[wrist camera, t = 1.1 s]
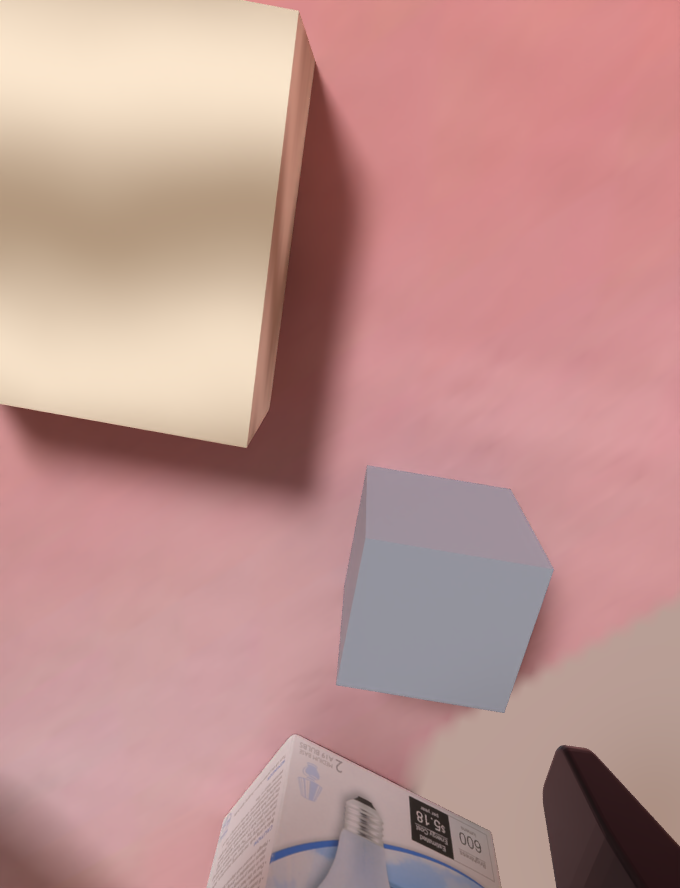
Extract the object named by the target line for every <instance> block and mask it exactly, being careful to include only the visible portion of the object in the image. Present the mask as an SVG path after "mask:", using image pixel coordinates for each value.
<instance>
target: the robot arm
mask: <svg viewBox="0 0 680 888" xmlns="http://www.w3.org/2000/svg"><path fill="white" fill-rule="evenodd" d="M543 806H544V812H545V818H546V825H547V830H548V837H549V843H550V850H551V856H552V862H553V869H554V875H555V881H556V887H557V888H680V846H679V845H678V844H677V843H676V842H675V841H674V840H673V839H672V838H671V836H670V835H669V834H668V833H667V832H666V831H665V830H664V829H663V828H662V827H661V825H659V823H658V822H657V821H656V820H655V819H654V818H653V817H652V816H651V815H650V814H649V813H648V811H647V810H646V809H645V808H644V807H643V806H642V805H641V804H640V803H639V802H638V800H637V799H636V798H635V797H634V796H633V795H632V794H631V793H630V792H629V791H628V790H627V789H626V788H625V786H624V785H623V784H622V783H621V782H620V781H619V780H618V779H617V778H616V777H615V776H614V775H613V773H612V772H611V771H610V770H609V769H608V768H607V767H606V766H605V765H604V763H603V762H602V761H601V760H600V759H599V758H598V757H597V756H596V755H595V754H594V753H593V752H592V751H590V750H589V749H586V748H581V747H573V746H566V745H563V746H560V747H559V748H558V749H557V750H556V752H555V755H554V758H553V761H552V764H551V766H550V770H549V772H548V775H547V778H546V780H545V784H544V788H543Z"/></svg>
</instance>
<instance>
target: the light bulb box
mask: <svg viewBox="0 0 680 888" xmlns="http://www.w3.org/2000/svg"><path fill="white" fill-rule="evenodd" d="M207 888H502V887H501V882H500V877H499V871H498V866H497V860H496V855H495V849H494V844H493V838H492V834H491V832H490V831H489V830H487V829H485V828H483V827H481V826H479V825H476V824H475V823H473V822H471V821H469V820H467V819H465V818H463V817H461V816H459V815H457V814H454V813H453V812H451V811H449V810H447V809H445V808H443V807H441V806H439V805H437V804H435V803H433V802H431V801H429V800H427V799H425V798H423V797H421V796H419V795H417V794H415V793H413V792H411V791H409V790H407V789H405V788H403V787H401V786H399V785H397V784H395V783H393V782H391V781H389V780H387V779H385V778H383V777H381V776H379V775H377V774H375V773H373V772H371V771H369V770H367V769H365V768H363V767H361V766H359V765H357V764H355V763H353V762H351V761H349V760H347V759H345V758H343V757H341V756H339V755H337V754H335V753H333V752H331V751H329V750H327V749H325V748H323V747H321V746H319V745H317V744H315V743H313V742H311V741H309V740H307V739H305V738H303V737H302V736H300V735H297V734H294V735H292V736H290V737H289V738H288V739H287V741H286V742H285V743H284V744H283V745H282V747H281V748H280V749H279V750H278V752H277V753H276V754H275V755H274V757H273V758H272V759H271V760H270V762H269V763H268V764H267V765H266V767H265V768H264V769H263V770H262V772H261V773H260V774H259V775H258V777H257V778H256V779H255V780H254V782H253V783H252V784H251V786H250V787H249V788H248V789H247V790H246V792H245V793H244V794H243V796H242V797H241V798H240V799H239V801H238V802H237V803H236V804H235V805H234V807H233V808H232V809H231V810H230V812H229V813H228V814H227V815H226V817H225V818H224V820H223V824H222V828H221V832H220V836H219V840H218V844H217V848H216V852H215V856H214V860H213V864H212V868H211V871H210V875H209V879H208V883H207Z"/></svg>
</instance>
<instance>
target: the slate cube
mask: <svg viewBox="0 0 680 888" xmlns="http://www.w3.org/2000/svg"><path fill="white" fill-rule="evenodd" d="M553 570H554V569H553V567H552V565H551V563H550V561H549V560H548V558H547V556H546V554H545V552H544V550H543V548H542V547H541V545H540V543H539V541H538V539H537V537H536V536H535V534H534V532H533V530H532V528H531V526H530V524H529V523H528V521H527V519H526V517H525V515H524V513H523V511H522V510H521V508H520V506H519V504H518V502H517V500H516V498H515V497H514V495H513V493H512V491H511V489H506V488H500V487H494V486H488V485H482V484H476V483H470V482H464V481H458V480H452V479H446V478H440V477H434V476H428V475H422V474H416V473H410V472H404V471H398V470H392V469H386V468H380V467H374V466H368V465H367V469H366V475H365V480H364V485H363V491H362V496H361V501H360V506H359V512H358V517H357V522H356V527H355V533H354V538H353V543H352V548H351V554H350V559H349V564H348V569H347V575H346V580H345V585H344V596H343V608H342V620H341V633H340V645H339V657H338V669H337V681H336V685H339V686H345V687H351V688H357V689H363V690H369V691H375V692H381V693H387V694H393V695H399V696H405V697H411V698H417V699H423V700H429V701H435V702H441V703H447V704H453V705H460V706H466V707H472V708H478V709H484V710H490V711H496V712H502V713H504V712H505V709H506V706H507V703H508V701H509V698H510V695H511V692H512V689H513V686H514V683H515V680H516V677H517V674H518V672H519V669H520V666H521V663H522V660H523V657H524V654H525V651H526V648H527V646H528V643H529V640H530V637H531V634H532V631H533V628H534V625H535V622H536V620H537V617H538V614H539V611H540V608H541V605H542V602H543V599H544V596H545V593H546V591H547V588H548V585H549V582H550V579H551V576H552V573H553Z"/></svg>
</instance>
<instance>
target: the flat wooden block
mask: <svg viewBox="0 0 680 888" xmlns="http://www.w3.org/2000/svg"><path fill="white" fill-rule="evenodd" d="M314 67H315V59H314V56H313V53H312V50H311V47H310V44H309V41H308V37H307V34H306V31H305V28H304V25H303V22H302V19H301V16H300V13H299V11H297V10H292V9H286V8H281V7H276V6H270V5H265V4H260V3H254V2H249V1H244V0H0V404H4V405H9V406H15V407H20V408H26V409H32V410H37V411H43V412H48V413H54V414H60V415H65V416H71V417H76V418H82V419H87V420H93V421H99V422H104V423H110V424H115V425H121V426H127V427H132V428H138V429H143V430H149V431H155V432H160V433H166V434H171V435H177V436H182V437H188V438H194V439H199V440H205V441H210V442H216V443H222V444H227V445H233V446H238V447H244V448H247V447H248V445H249V443H250V441H251V440H252V438H253V436H254V435H255V433H256V431H257V429H258V428H259V426H260V424H261V423H262V421H263V419H264V418H265V416H266V414H267V412H268V411H269V409H270V401H271V394H272V386H273V378H274V371H275V363H276V356H277V348H278V340H279V333H280V325H281V318H282V310H283V302H284V295H285V287H286V280H287V272H288V264H289V257H290V249H291V241H292V234H293V226H294V219H295V211H296V203H297V196H298V188H299V181H300V173H301V165H302V158H303V150H304V143H305V135H306V127H307V120H308V112H309V105H310V97H311V89H312V82H313V74H314Z"/></svg>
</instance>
